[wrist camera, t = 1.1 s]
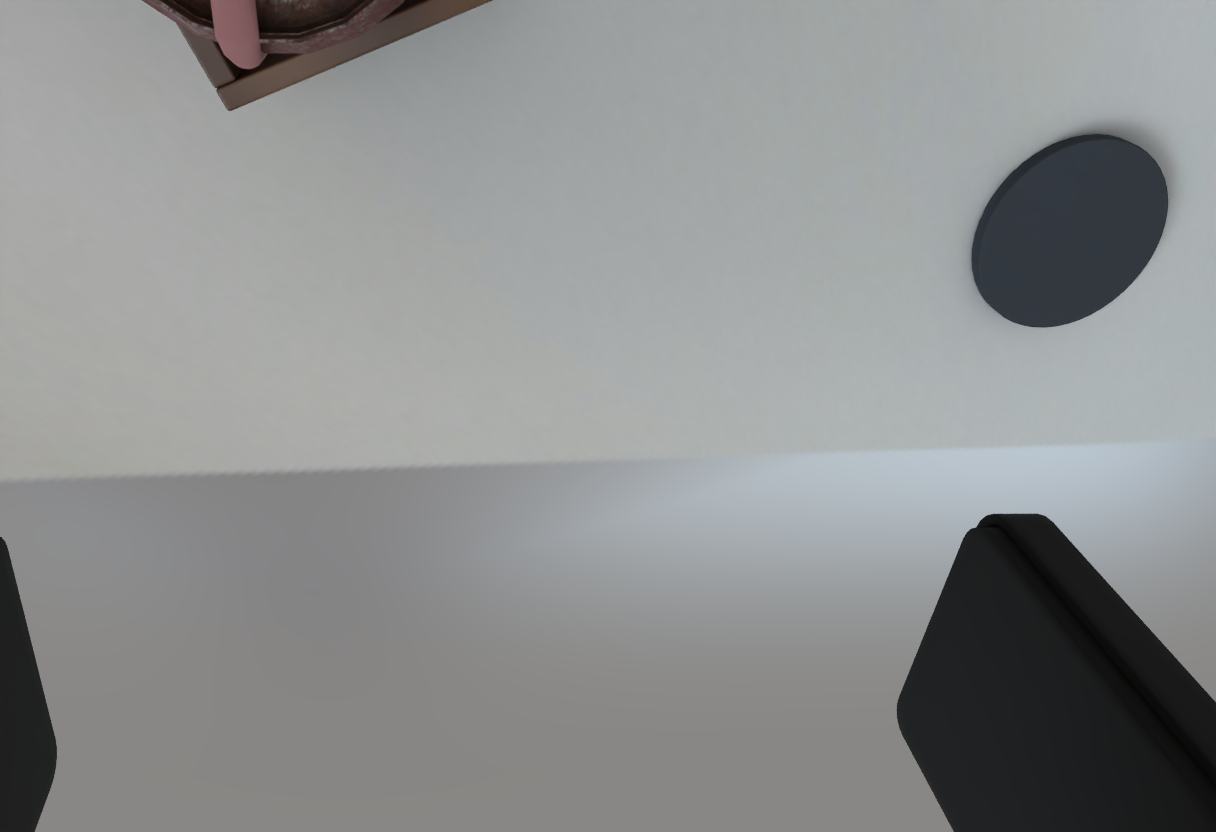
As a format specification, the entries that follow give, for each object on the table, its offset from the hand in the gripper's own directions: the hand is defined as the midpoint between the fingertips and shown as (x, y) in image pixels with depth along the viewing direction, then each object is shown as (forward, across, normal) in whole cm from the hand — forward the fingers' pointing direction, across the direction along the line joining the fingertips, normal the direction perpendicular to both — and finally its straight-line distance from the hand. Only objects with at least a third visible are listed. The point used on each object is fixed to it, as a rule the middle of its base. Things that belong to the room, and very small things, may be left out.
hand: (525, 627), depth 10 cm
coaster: (+24, -24, +4) cm, 34 cm away
